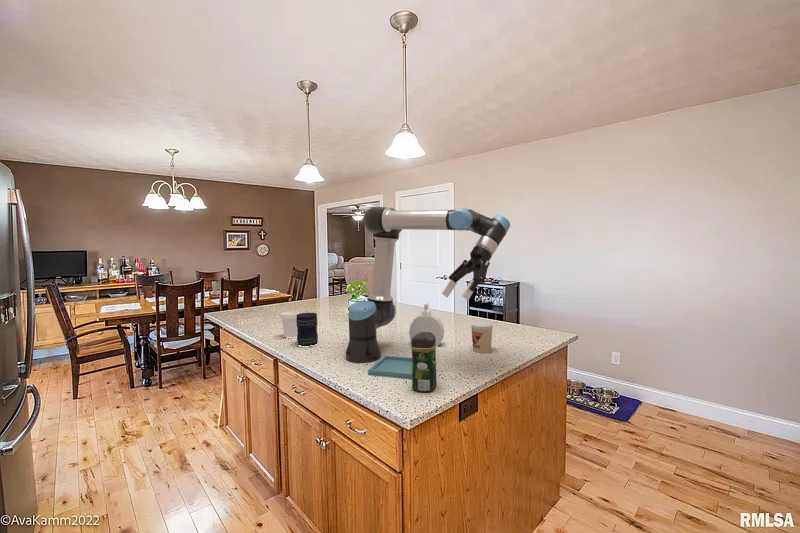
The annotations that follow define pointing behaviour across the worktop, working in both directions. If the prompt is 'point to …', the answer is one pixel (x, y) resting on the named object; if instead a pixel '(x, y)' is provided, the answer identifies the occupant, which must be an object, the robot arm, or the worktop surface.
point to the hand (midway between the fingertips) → (454, 296)
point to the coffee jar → (423, 362)
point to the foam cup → (289, 323)
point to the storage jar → (307, 329)
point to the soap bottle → (427, 325)
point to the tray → (392, 367)
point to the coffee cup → (481, 337)
